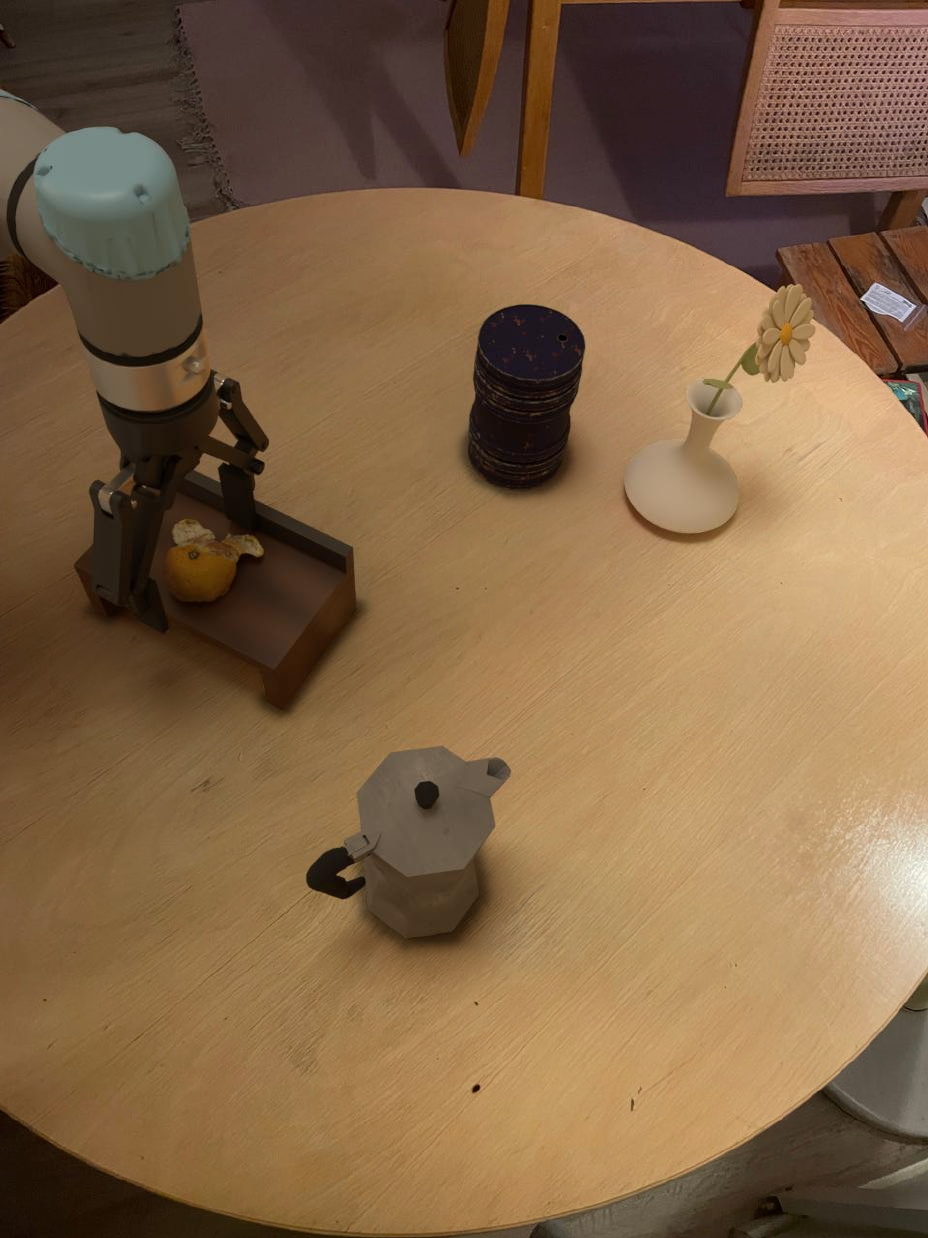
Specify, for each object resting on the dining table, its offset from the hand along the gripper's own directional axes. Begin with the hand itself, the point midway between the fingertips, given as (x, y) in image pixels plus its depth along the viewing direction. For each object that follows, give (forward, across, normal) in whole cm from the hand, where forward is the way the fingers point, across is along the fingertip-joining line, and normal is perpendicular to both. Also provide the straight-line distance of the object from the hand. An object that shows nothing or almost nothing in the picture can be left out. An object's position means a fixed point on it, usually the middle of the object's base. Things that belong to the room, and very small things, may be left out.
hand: (199, 571), depth 86 cm
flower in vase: (+7, +36, -31) cm, 48 cm away
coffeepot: (+8, -12, -27) cm, 31 cm away
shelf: (+8, +2, 0) cm, 8 cm away
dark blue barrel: (+7, +32, -14) cm, 36 cm away
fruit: (+1, +2, 0) cm, 2 cm away
